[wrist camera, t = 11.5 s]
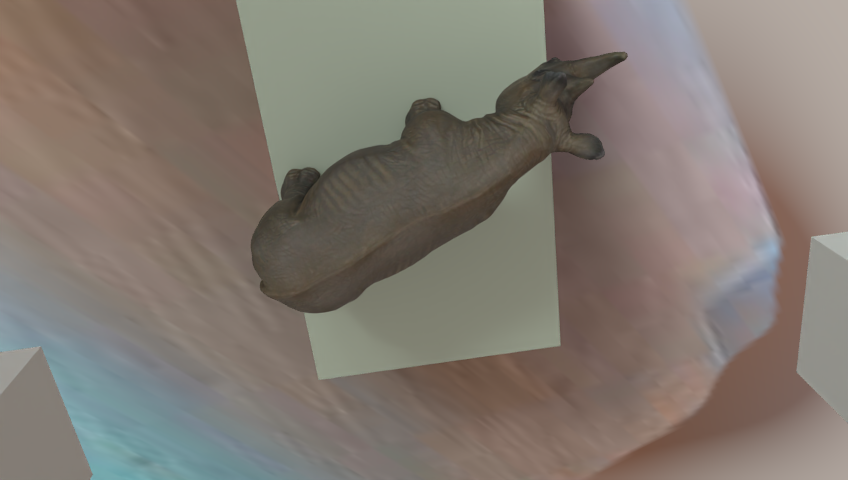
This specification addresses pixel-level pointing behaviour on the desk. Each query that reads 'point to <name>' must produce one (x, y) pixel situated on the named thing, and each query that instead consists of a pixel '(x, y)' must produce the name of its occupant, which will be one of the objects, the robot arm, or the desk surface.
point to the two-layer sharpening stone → (383, 124)
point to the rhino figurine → (415, 188)
